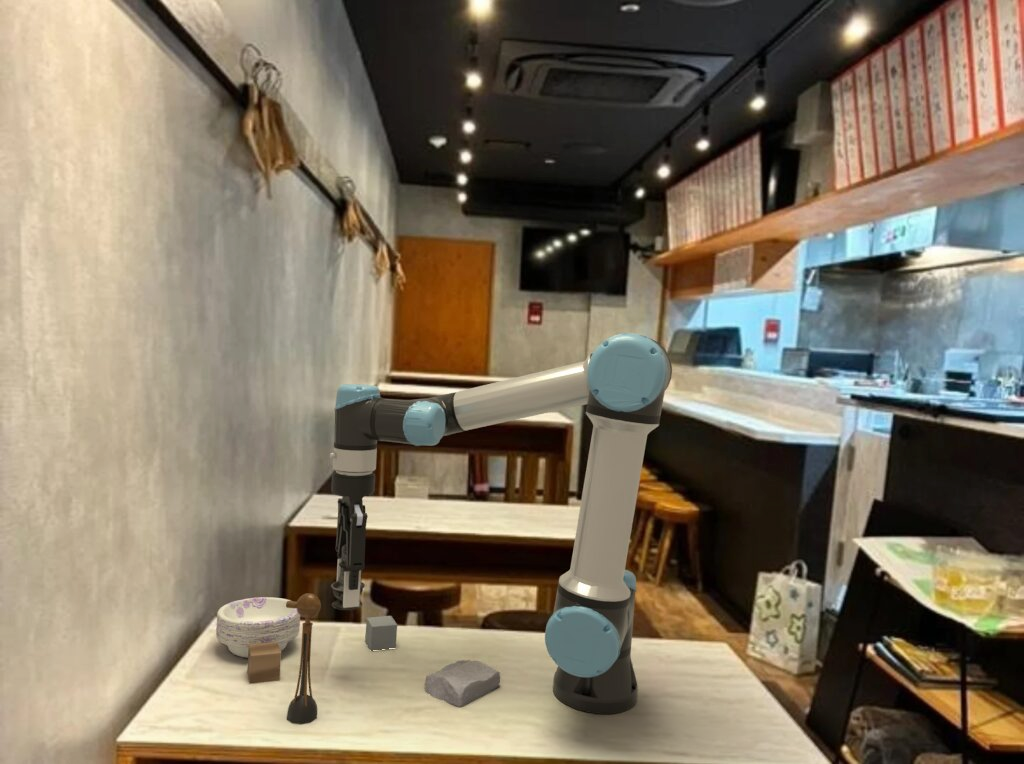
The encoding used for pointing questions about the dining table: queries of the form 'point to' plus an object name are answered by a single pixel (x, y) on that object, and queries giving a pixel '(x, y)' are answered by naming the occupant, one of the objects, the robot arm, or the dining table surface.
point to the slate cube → (381, 633)
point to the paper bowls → (256, 623)
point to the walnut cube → (264, 662)
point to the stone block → (462, 682)
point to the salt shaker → (339, 586)
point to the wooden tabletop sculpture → (304, 662)
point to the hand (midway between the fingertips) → (347, 599)
